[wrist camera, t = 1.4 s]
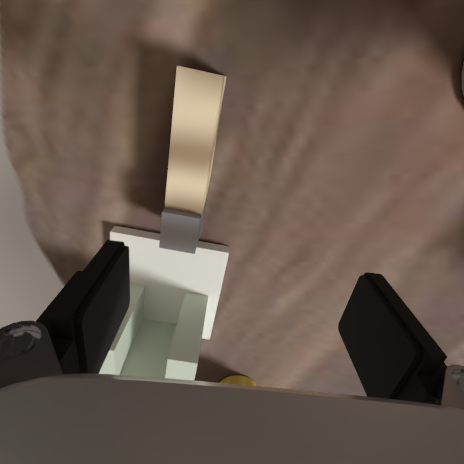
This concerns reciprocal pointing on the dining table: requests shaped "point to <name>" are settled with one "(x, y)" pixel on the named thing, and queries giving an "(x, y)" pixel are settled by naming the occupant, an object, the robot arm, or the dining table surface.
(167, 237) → the rail
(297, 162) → the dining table surface
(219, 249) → the slotted block on base
